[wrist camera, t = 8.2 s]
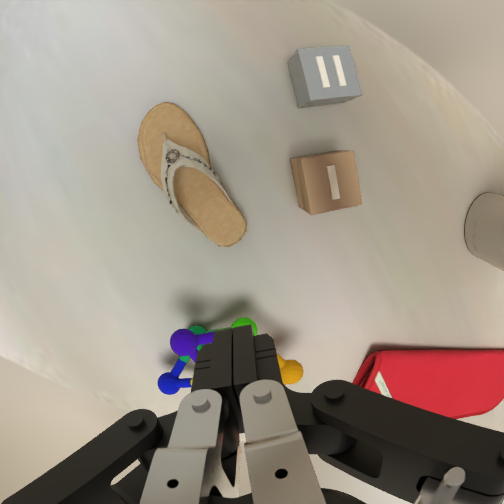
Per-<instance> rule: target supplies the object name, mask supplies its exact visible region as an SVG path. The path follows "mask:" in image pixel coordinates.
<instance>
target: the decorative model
mask: <svg viewBox="0 0 504 504" xmlns="http://www.w3.org/2000/svg"><path fill="white" fill-rule="evenodd" d="M248 324H252V327H253V332H254V336H256V335H257V326H256V324H255V322H254V321H252V320H251V319H250V318H246V317H245V318H239V319H237V320H236V321H235V322H234V323H233V325H232V326H231V327H230V328H233V327H238V326H243V325H248ZM224 329H227V328H224ZM217 330H222V329H217ZM214 331H216V330H210V331H206V330H205V328H203V327H201V326H192V327H190V328H189V329H179V330H177V331H175V332H174V333H173V334H172V336H171V339H170V345H171V348H172V350H173V351H174V352H175V353H176V354H178V355H180V357H179V359H178V361H177V362H176V364H175V366H174V367H173V369H172V371H171V372H170V373H169V372H167V373H164V374H162V375H161V376H160V377H159V379H158V387H159V389H160V390H161V391H162V392H163V393H164V394H168V395H171V394H175V393H177V392H178V391H179V389H180V388H186V387H192V382H193V378H184V379H179V378H178V377H179V375H180V374H181V372H182V370H183V369H184V367H185V365H186V364H187V362H188V360H189V358H191V359H192V360H193V361H194V362H195V363H196V357H197V353H198V351H199V350H200V349H201V347H202V346H203V345H206V344H208V343H212V342H213V334H214ZM277 358H278V363H279V367H280V372H281V377H282V381H283V384H284V385H286V384H294V383H297V382H298V381H299V380H300V379H301V378H302V376H303V367H302V365H301V364H300V363H299V362H297V361H296V360H286V361H285V360H284V359H283V358H282V357H281V356H280V355H279V354H277Z"/></svg>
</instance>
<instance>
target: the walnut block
mask: <svg viewBox="0 0 504 504" xmlns="http://www.w3.org/2000/svg"><path fill="white" fill-rule="evenodd" d="M290 162H291V167H292V172H293V177H294V183H295V188H296V193H297V198H298V204H299V207H300V208H302V209H303V210H305V211H306V212H307V213H309V214H310V215H314V214H319V213H323V212H328V211H333V210H338V209H342V208H347V207H352V206H357V205H362V200H361V192H360V186H359V179H358V173H357V167H356V161H355V155H354V151H333V152H326V153H320V154H315V155H309V156H303V157H298V158H292V159H290Z"/></svg>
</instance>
